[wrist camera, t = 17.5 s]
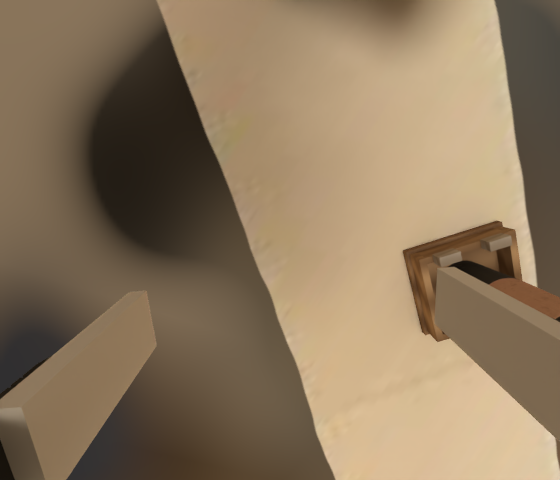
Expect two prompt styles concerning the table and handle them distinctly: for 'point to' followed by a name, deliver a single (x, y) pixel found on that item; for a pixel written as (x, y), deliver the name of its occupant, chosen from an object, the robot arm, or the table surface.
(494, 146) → the table surface
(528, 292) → the travel mug
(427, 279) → the tray
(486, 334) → the robot arm
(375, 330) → the table surface
